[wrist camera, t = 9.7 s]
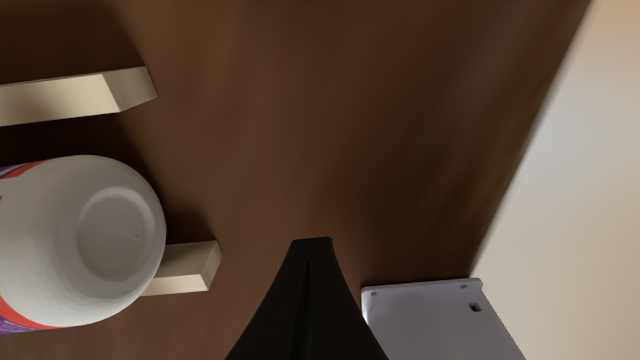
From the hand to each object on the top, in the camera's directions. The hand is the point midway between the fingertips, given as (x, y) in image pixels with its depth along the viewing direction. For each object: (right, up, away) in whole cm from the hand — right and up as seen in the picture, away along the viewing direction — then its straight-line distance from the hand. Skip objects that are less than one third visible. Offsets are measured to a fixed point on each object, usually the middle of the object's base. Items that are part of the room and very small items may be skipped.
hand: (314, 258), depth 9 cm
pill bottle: (-9, 0, +4) cm, 10 cm away
